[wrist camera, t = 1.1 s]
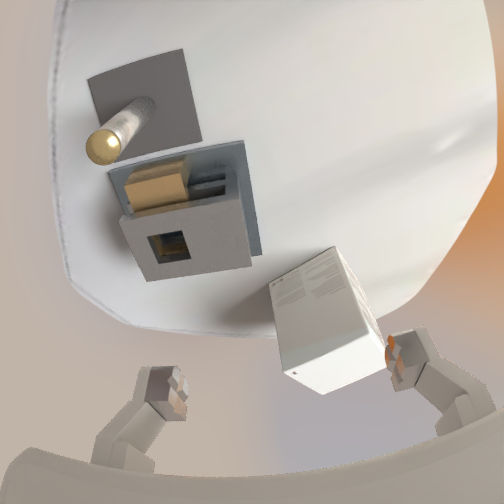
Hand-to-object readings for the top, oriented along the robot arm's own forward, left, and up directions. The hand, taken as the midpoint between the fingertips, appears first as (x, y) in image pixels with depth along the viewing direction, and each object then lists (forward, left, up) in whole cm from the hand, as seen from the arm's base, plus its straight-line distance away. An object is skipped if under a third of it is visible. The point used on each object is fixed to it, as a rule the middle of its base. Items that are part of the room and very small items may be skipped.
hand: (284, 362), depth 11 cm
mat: (-5, -11, -31) cm, 33 cm away
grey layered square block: (+11, -9, -31) cm, 34 cm away
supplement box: (+30, +9, -31) cm, 45 cm away
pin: (-5, -11, -31) cm, 33 cm away
